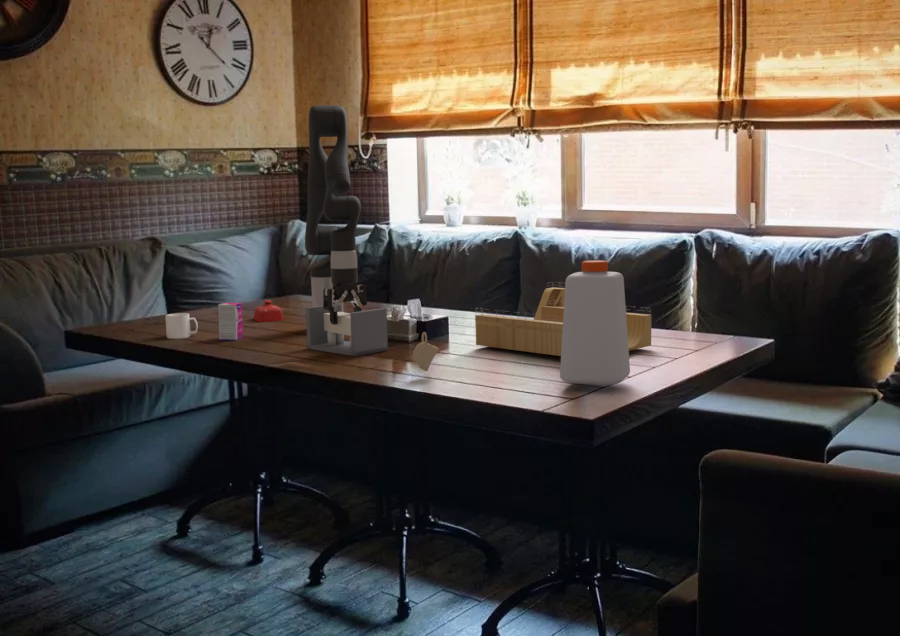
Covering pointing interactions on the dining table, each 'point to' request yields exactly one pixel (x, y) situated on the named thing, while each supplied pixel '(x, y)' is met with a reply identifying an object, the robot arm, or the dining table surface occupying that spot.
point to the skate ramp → (547, 327)
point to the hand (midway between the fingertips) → (346, 322)
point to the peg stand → (364, 332)
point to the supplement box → (230, 321)
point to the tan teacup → (424, 353)
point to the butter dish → (268, 313)
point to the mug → (179, 325)
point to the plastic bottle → (594, 327)
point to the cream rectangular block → (342, 325)
